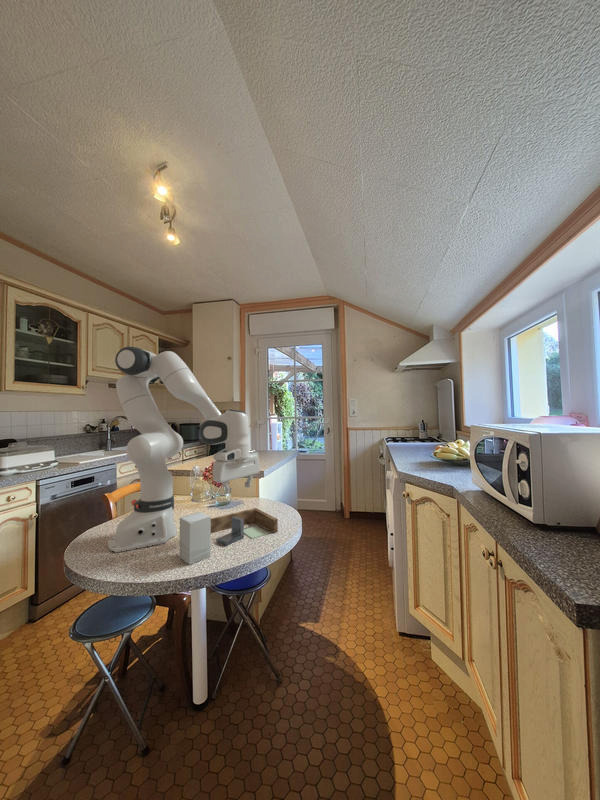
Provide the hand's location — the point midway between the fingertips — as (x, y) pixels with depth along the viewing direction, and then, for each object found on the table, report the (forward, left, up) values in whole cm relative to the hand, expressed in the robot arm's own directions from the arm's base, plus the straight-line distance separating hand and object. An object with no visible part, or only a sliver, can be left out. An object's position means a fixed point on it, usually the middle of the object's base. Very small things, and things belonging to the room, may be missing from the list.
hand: (238, 490), depth 107 cm
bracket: (-3, -1, -17) cm, 18 cm away
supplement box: (-17, -5, -18) cm, 25 cm away
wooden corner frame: (+3, +3, -17) cm, 18 cm away
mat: (+7, 0, -17) cm, 18 cm away
